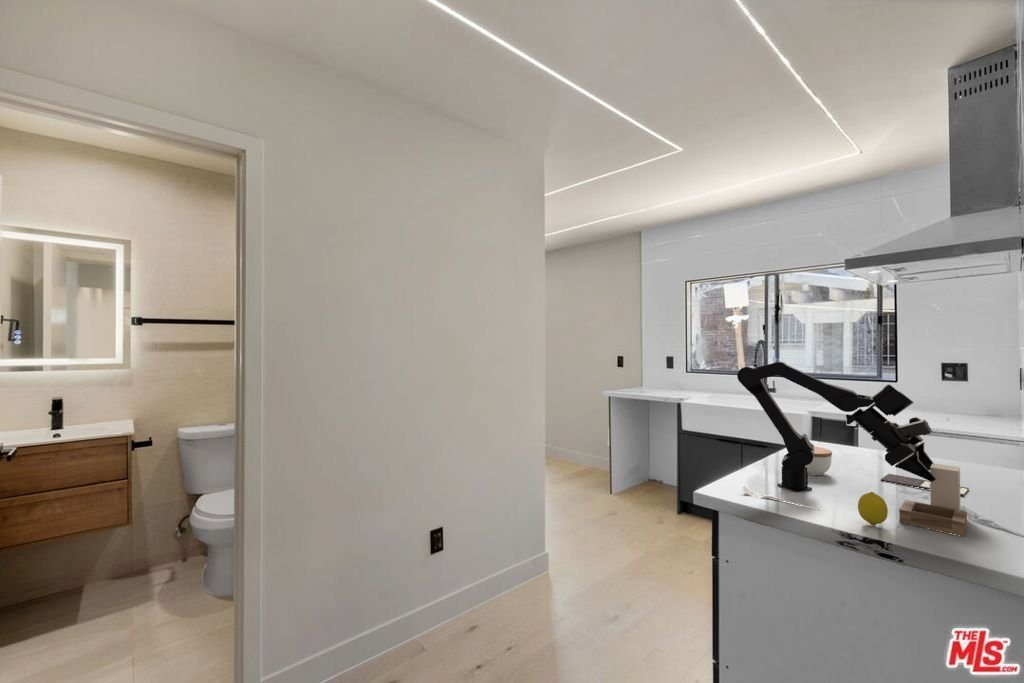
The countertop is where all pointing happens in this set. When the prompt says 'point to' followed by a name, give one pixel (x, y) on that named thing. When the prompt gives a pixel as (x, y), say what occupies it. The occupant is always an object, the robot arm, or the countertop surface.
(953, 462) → the countertop surface
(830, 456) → the lidded jar
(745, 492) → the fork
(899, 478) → the chocolate bar
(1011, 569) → the countertop surface
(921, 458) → the robot arm
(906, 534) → the countertop surface
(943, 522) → the tray
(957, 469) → the clay bar
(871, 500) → the lemon
